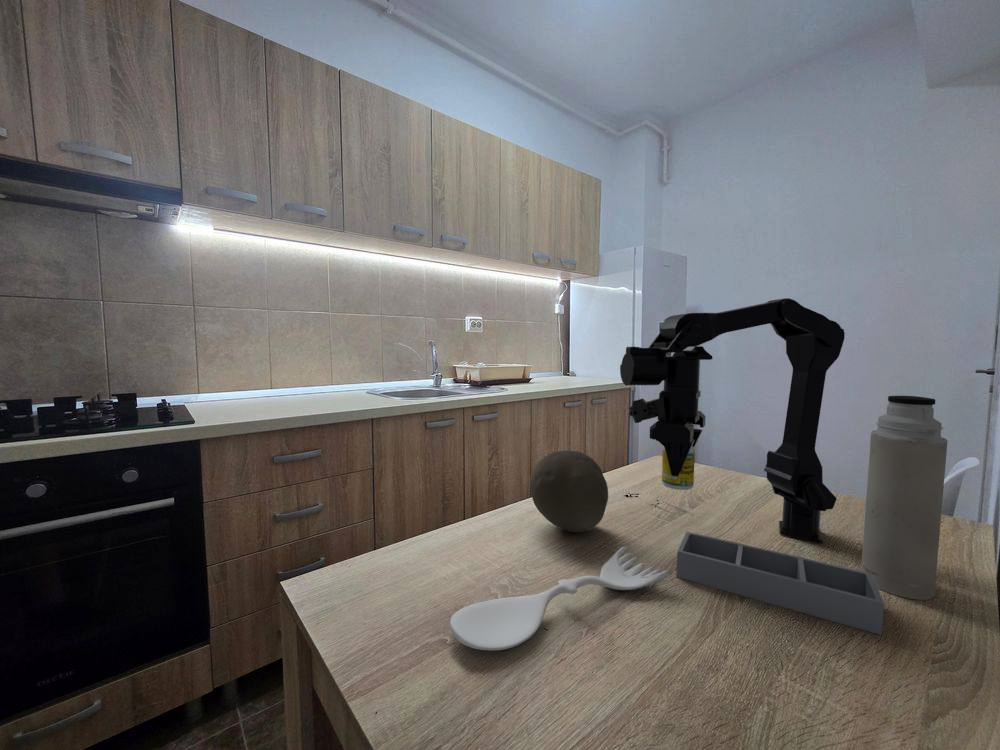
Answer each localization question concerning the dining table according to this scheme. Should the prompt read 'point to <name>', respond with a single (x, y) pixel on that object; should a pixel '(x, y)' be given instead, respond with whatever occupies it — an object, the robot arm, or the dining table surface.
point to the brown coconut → (569, 490)
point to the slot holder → (783, 580)
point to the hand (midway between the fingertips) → (678, 471)
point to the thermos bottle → (905, 498)
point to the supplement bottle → (685, 476)
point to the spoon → (539, 606)
